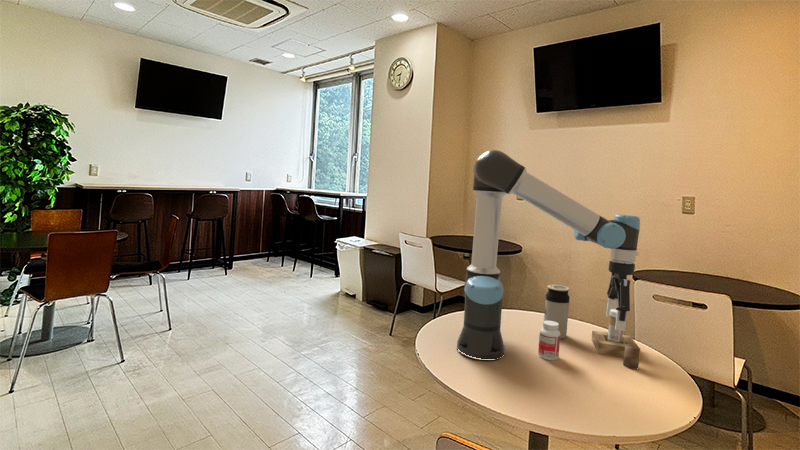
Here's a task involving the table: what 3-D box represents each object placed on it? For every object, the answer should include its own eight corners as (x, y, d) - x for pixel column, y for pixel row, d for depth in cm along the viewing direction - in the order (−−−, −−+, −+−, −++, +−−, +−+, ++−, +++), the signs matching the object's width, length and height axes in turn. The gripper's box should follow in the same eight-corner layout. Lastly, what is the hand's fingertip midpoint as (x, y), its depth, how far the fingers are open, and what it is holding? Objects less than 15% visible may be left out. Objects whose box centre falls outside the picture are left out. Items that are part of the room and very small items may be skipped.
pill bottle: (549, 351, 132) (552, 318, 130) (562, 359, 126) (565, 325, 125) (533, 353, 129) (536, 320, 128) (546, 361, 124) (549, 327, 123)
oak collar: (597, 353, 132) (598, 343, 131) (591, 340, 143) (592, 330, 143) (638, 359, 128) (639, 348, 128) (628, 345, 140) (629, 335, 140)
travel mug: (568, 334, 148) (572, 286, 146) (563, 341, 141) (568, 291, 140) (545, 329, 152) (549, 283, 150) (540, 335, 146) (544, 287, 144)
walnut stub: (625, 368, 122) (627, 348, 121) (621, 362, 125) (623, 344, 125) (639, 370, 120) (641, 351, 120) (636, 364, 124) (638, 346, 124)
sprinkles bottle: (624, 350, 135) (628, 311, 134) (616, 352, 133) (620, 313, 131) (610, 345, 139) (614, 307, 138) (603, 347, 136) (607, 309, 135)
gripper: (646, 269, 120) (638, 338, 122) (625, 256, 144) (618, 314, 146) (618, 266, 122) (610, 334, 124) (602, 254, 146) (596, 311, 148)
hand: (614, 323), depth 135 cm, fingers open, 13 cm apart
